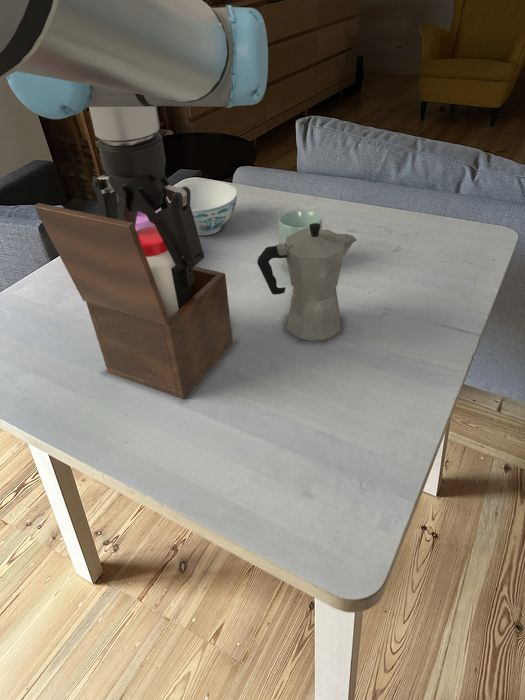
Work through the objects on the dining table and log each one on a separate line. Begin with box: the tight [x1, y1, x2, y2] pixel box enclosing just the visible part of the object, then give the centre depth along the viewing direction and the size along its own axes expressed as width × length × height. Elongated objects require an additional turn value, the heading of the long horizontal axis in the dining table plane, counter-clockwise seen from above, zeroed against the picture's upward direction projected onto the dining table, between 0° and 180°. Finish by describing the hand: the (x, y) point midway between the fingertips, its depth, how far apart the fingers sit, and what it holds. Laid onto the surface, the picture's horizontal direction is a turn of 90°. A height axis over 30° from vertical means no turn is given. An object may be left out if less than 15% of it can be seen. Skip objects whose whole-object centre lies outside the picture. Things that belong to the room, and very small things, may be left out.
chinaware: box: [166, 180, 238, 236], centre depth 115 cm, size 15×15×8 cm
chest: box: [85, 265, 234, 400], centre depth 79 cm, size 14×14×13 cm
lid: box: [33, 202, 170, 325], centre depth 65 cm, size 15×14×1 cm
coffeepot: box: [257, 223, 357, 342], centre depth 82 cm, size 15×9×18 cm, turn 106°
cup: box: [277, 208, 323, 269], centre depth 100 cm, size 8×8×10 cm
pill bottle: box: [137, 227, 183, 318], centre depth 74 cm, size 8×8×11 cm
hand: (162, 298), depth 77 cm, fingers closed on pill bottle, 8 cm apart
